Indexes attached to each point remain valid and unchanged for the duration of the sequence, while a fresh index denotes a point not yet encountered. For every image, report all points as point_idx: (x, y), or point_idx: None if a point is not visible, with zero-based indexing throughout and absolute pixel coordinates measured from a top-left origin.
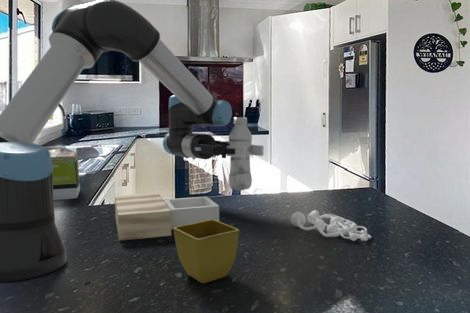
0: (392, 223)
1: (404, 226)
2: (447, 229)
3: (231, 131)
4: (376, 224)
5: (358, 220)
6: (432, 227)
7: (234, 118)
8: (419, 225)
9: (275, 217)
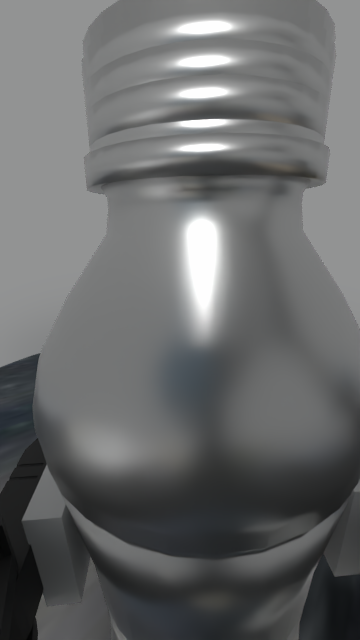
0: (10, 401)
1: (23, 388)
2: (15, 364)
3: (350, 310)
4: (30, 410)
5: (12, 436)
6: (12, 373)
7: (330, 73)
8: (6, 382)
9: (96, 601)
